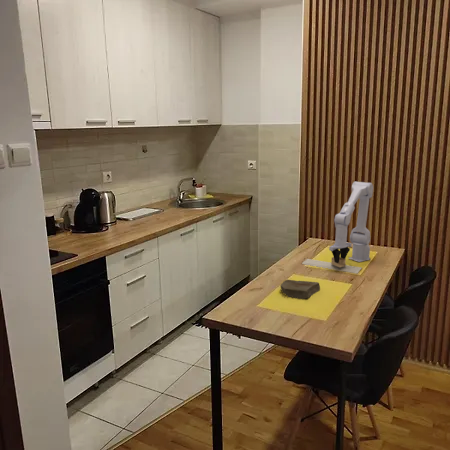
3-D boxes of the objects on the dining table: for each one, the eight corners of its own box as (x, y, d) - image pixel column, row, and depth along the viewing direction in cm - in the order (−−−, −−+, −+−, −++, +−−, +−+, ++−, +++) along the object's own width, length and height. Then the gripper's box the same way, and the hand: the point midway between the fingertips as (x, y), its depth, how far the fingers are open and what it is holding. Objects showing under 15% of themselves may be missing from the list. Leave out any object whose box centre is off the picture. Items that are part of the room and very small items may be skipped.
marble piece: (320, 289, 196) (320, 281, 195) (315, 301, 183) (315, 292, 182) (284, 285, 202) (285, 276, 201) (277, 296, 189) (277, 287, 188)
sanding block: (336, 264, 227) (337, 256, 226) (345, 267, 222) (345, 259, 221) (331, 265, 225) (331, 257, 224) (339, 268, 220) (340, 260, 219)
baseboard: (356, 275, 215) (361, 270, 223) (357, 270, 214) (362, 265, 223) (300, 266, 230) (307, 261, 239) (300, 261, 230) (307, 256, 238)
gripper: (344, 233, 226) (343, 257, 229) (325, 236, 218) (324, 262, 221) (355, 235, 220) (353, 260, 223) (335, 239, 212) (334, 265, 216)
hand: (339, 261), depth 222 cm, fingers closed on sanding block, 4 cm apart
